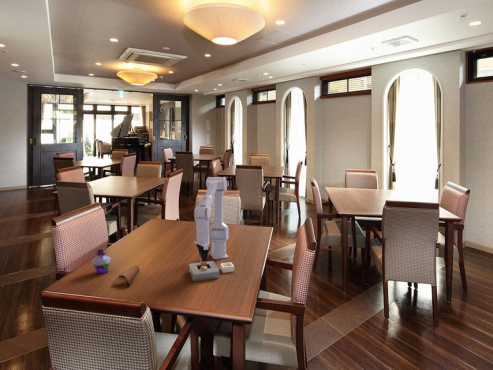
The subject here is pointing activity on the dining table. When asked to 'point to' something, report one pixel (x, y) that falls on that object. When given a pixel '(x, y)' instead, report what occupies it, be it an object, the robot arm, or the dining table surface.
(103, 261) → the potion bottle
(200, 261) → the tan cylinder
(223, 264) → the holder
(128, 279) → the sunglasses case
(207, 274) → the grey square frame block
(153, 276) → the dining table surface
